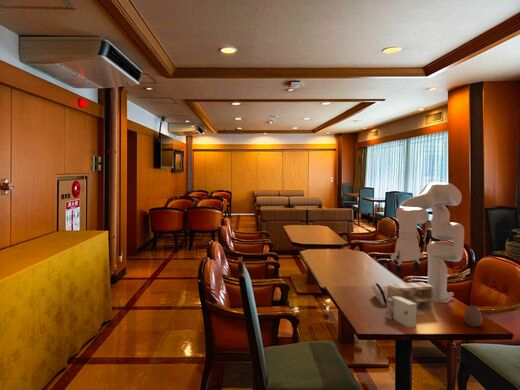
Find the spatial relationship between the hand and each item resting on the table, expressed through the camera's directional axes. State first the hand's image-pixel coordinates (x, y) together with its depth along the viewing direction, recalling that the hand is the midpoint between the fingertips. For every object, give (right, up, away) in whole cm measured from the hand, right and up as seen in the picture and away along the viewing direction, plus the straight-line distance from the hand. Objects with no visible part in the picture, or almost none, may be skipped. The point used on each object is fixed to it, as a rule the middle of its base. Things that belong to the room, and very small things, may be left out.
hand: (407, 272), depth 176 cm
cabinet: (+3, -21, +8) cm, 23 cm away
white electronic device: (-3, -21, +28) cm, 35 cm away
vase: (+27, -22, -6) cm, 35 cm away
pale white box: (-3, -21, -4) cm, 22 cm away
